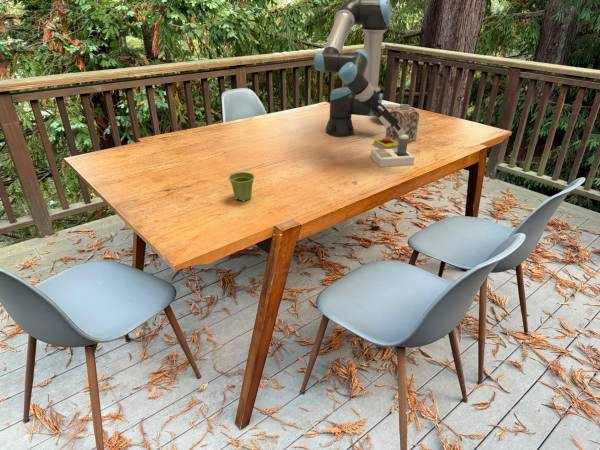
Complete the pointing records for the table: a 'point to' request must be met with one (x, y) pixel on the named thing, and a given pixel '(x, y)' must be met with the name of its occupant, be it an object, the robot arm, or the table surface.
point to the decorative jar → (404, 122)
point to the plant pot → (242, 185)
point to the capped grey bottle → (402, 145)
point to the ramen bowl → (390, 106)
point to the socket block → (391, 158)
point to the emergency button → (385, 143)
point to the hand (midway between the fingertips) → (395, 130)
